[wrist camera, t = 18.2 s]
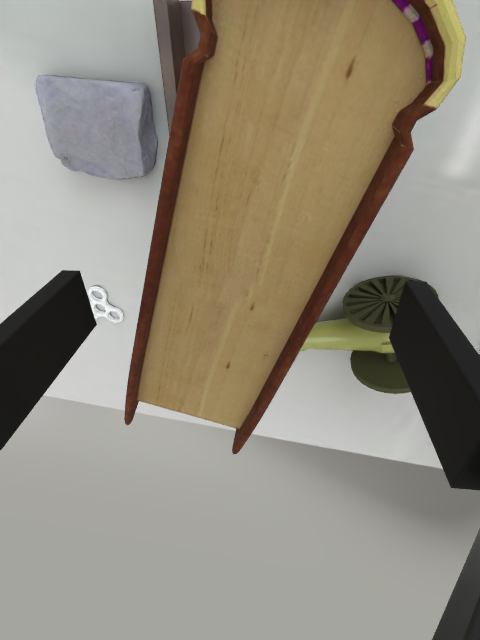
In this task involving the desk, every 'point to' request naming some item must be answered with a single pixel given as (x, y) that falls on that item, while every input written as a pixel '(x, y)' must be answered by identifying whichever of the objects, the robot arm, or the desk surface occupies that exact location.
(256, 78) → the decorative book
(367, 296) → the cannon
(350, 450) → the desk surface
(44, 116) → the stone block
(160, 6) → the book rack
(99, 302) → the fidget spinner
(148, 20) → the desk surface
